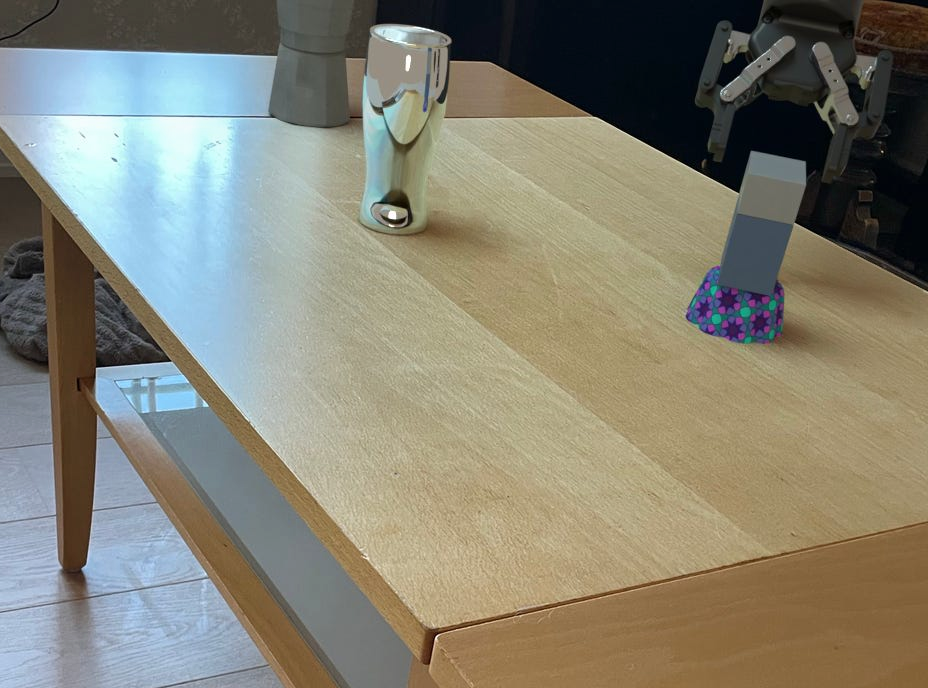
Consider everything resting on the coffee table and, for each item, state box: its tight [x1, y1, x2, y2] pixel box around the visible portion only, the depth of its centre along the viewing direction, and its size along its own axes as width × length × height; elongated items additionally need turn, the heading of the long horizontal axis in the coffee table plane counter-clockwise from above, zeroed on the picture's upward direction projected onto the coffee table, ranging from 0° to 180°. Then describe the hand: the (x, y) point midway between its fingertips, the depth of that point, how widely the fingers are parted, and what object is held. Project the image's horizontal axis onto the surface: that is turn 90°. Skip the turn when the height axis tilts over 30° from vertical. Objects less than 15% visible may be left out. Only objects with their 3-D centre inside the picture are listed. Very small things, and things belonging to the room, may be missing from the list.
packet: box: [717, 150, 807, 296], centre depth 84 cm, size 4×6×8 cm, turn 166°
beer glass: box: [357, 23, 452, 236], centre depth 97 cm, size 7×7×15 cm
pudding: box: [685, 265, 786, 345], centre depth 88 cm, size 12×12×5 cm
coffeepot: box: [267, 0, 355, 128], centre depth 119 cm, size 15×9×18 cm, turn 27°
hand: (773, 166), depth 90 cm, fingers open, 8 cm apart
